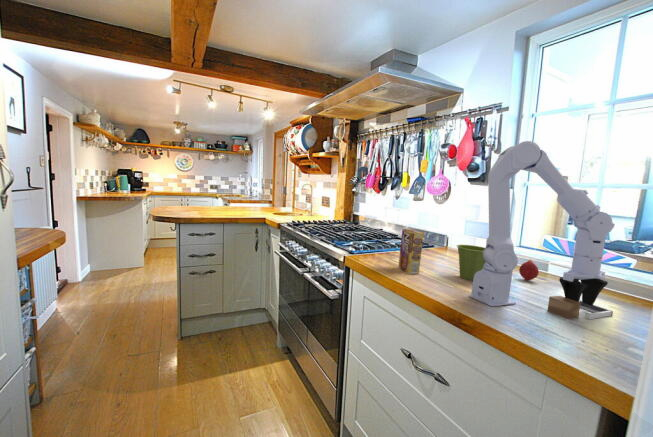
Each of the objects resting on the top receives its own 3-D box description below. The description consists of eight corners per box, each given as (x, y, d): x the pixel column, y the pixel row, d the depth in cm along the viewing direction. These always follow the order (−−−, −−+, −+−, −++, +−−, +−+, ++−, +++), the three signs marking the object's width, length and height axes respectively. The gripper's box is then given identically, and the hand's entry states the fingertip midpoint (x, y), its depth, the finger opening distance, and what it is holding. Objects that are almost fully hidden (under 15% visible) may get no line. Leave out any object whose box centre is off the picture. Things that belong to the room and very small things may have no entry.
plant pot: (496, 285, 99) (501, 252, 98) (461, 282, 99) (465, 250, 98) (479, 275, 111) (483, 245, 110) (447, 272, 111) (451, 243, 110)
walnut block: (567, 319, 74) (569, 303, 74) (547, 310, 79) (549, 296, 79) (578, 317, 76) (580, 302, 75) (557, 309, 80) (559, 295, 80)
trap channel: (588, 319, 75) (589, 315, 75) (555, 307, 82) (556, 303, 82) (612, 315, 79) (612, 311, 79) (578, 304, 86) (579, 300, 86)
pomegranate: (540, 284, 104) (543, 262, 103) (522, 282, 105) (525, 260, 104) (532, 279, 110) (535, 258, 109) (515, 277, 111) (518, 256, 110)
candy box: (420, 274, 106) (424, 232, 104) (409, 274, 105) (413, 232, 103) (408, 267, 114) (411, 228, 113) (397, 267, 113) (401, 228, 112)
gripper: (589, 260, 72) (580, 314, 73) (622, 259, 77) (613, 308, 78) (557, 253, 78) (550, 303, 80) (590, 252, 83) (582, 298, 85)
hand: (579, 305), depth 79 cm, fingers open, 7 cm apart
